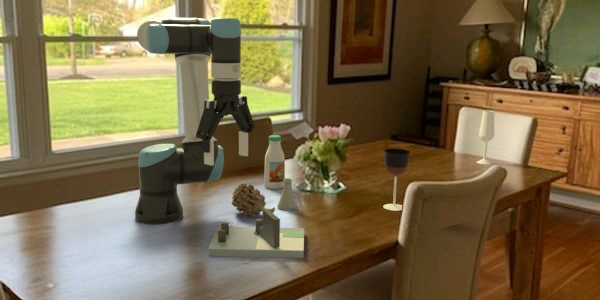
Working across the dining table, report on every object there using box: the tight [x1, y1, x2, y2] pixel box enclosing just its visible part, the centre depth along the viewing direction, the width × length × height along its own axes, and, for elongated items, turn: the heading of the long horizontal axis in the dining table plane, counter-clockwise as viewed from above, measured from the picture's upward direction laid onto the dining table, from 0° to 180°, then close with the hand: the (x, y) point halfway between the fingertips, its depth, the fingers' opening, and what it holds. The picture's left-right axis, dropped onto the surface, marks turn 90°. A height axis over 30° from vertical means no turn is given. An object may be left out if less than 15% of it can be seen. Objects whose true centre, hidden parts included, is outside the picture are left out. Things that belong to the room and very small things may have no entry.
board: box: [207, 221, 306, 259], centre depth 171 cm, size 26×18×5 cm
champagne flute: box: [476, 110, 495, 165], centre depth 273 cm, size 7×7×24 cm
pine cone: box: [231, 183, 276, 218], centre depth 194 cm, size 22×10×10 cm, turn 44°
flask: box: [276, 177, 299, 211], centre depth 204 cm, size 7×7×10 cm
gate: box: [255, 208, 281, 248], centre depth 168 cm, size 15×2×8 cm, turn 24°
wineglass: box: [382, 148, 411, 212], centre depth 206 cm, size 8×9×20 cm
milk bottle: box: [263, 134, 286, 190], centre depth 228 cm, size 8×8×20 cm
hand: (226, 159), depth 158 cm, fingers open, 13 cm apart
